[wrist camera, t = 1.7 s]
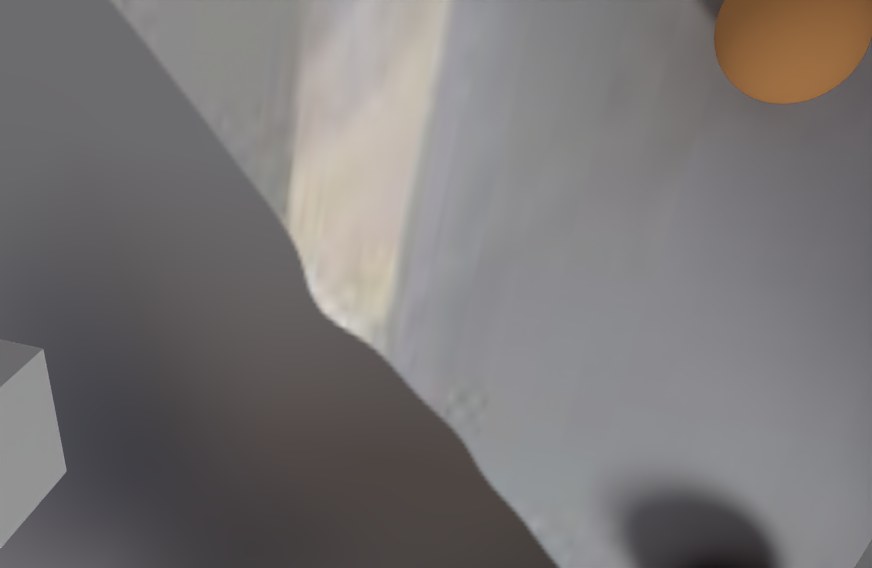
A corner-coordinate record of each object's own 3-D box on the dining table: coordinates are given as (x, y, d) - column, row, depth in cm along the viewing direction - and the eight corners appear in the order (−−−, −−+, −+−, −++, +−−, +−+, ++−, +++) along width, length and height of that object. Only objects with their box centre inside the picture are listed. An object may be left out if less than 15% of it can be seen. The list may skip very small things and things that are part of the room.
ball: (886, -15, 29) (930, -6, 24) (801, 112, 32) (826, 142, 27) (758, -74, 30) (777, -77, 25) (685, 56, 32) (689, 76, 27)
